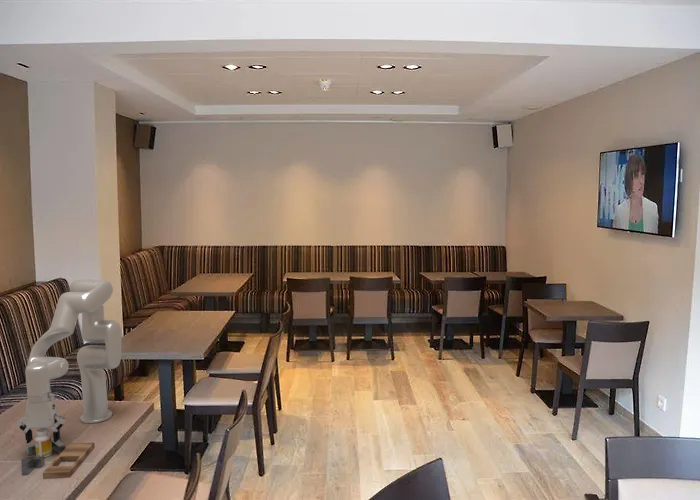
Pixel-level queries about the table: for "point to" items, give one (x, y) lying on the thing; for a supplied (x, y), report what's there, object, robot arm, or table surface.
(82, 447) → the block with square hole
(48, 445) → the supplement bottle
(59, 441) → the vee block
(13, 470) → the table surface
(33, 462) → the gray tee-shaped block
